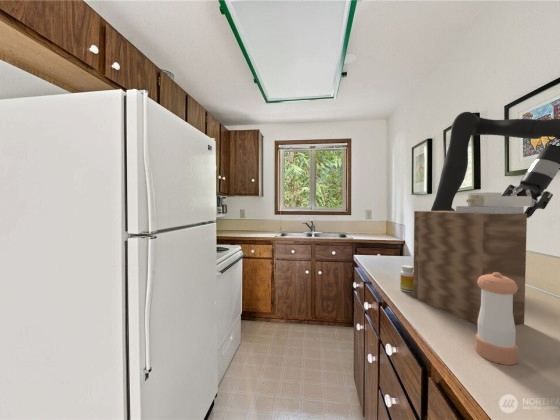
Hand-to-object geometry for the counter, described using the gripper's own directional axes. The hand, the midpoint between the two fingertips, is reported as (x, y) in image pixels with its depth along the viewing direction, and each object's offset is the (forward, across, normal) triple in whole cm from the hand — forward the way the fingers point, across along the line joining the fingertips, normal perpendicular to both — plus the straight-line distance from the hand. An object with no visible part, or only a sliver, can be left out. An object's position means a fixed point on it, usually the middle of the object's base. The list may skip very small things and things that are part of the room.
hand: (513, 213), depth 94 cm
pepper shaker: (+36, +40, -32) cm, 63 cm away
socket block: (+6, +16, -28) cm, 33 cm away
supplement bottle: (+44, 0, -22) cm, 49 cm away
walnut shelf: (+37, +17, -18) cm, 44 cm away
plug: (+2, +14, -24) cm, 28 cm away
